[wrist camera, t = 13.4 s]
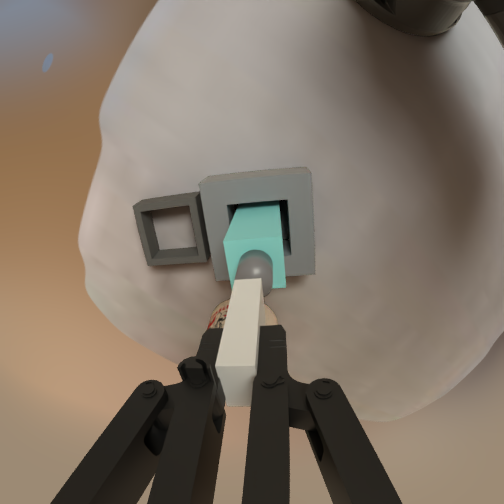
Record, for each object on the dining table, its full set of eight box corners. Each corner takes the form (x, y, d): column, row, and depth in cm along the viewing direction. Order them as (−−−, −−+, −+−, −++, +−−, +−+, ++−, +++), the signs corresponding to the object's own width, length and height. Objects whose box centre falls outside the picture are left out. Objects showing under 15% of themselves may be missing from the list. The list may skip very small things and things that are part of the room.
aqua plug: (278, 197, 29) (283, 251, 17) (281, 233, 31) (287, 307, 18) (240, 201, 29) (216, 257, 17) (245, 236, 31) (227, 311, 19)
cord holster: (201, 191, 29) (195, 196, 27) (211, 252, 32) (206, 261, 30) (142, 199, 30) (132, 206, 28) (155, 256, 33) (147, 265, 31)
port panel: (305, 167, 27) (311, 172, 24) (310, 257, 32) (315, 274, 28) (208, 176, 29) (198, 183, 25) (222, 263, 33) (215, 280, 29)
